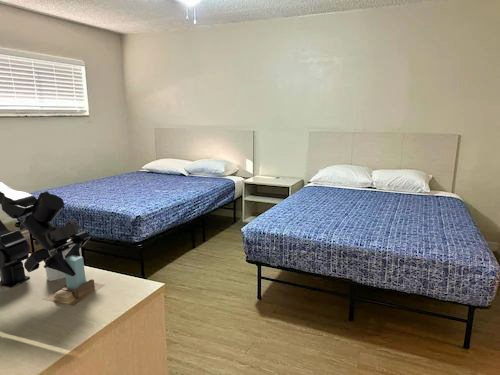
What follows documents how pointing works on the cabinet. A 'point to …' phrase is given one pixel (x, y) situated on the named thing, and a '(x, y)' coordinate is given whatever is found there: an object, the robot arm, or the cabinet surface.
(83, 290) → the rack
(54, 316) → the cabinet surface
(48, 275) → the photo printer
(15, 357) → the cabinet surface
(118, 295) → the cabinet surface
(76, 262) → the teal rectangular block
